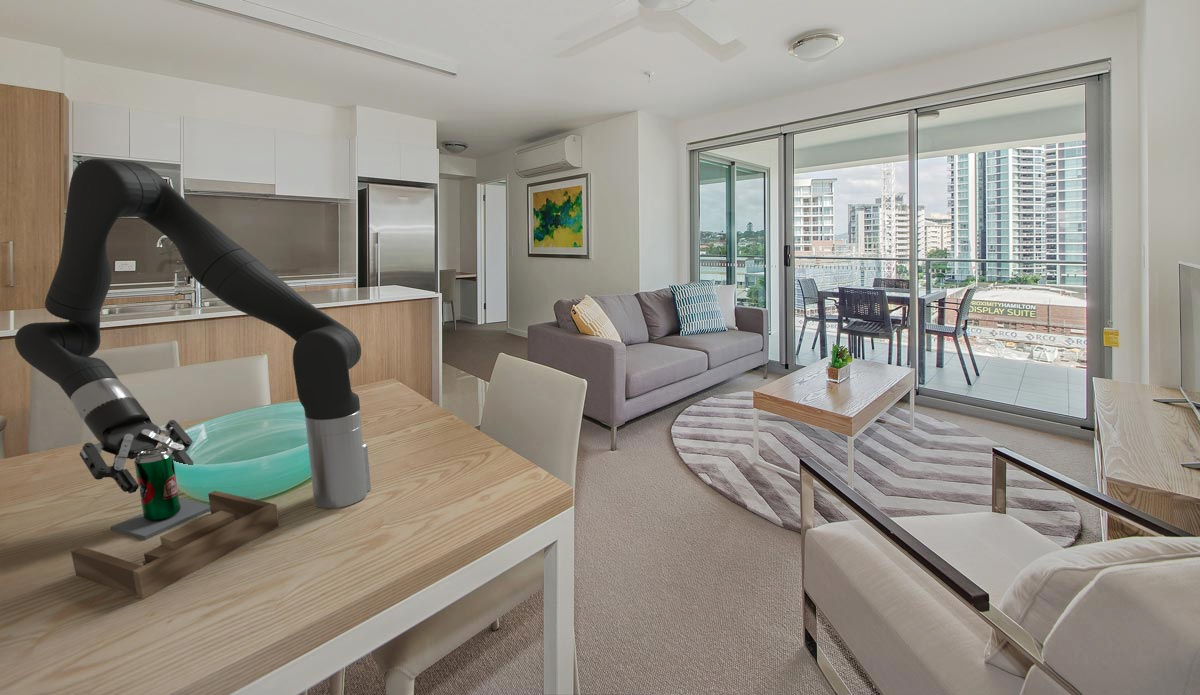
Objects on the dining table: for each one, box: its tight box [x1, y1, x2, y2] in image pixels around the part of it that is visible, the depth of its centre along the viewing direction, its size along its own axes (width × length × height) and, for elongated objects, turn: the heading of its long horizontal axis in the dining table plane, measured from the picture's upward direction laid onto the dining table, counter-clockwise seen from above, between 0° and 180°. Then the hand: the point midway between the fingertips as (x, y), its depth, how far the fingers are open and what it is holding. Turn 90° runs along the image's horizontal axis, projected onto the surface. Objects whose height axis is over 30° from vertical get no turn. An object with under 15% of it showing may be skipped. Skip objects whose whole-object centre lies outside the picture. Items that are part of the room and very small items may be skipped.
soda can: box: [133, 448, 181, 521], centre depth 91 cm, size 5×5×12 cm
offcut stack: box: [142, 510, 236, 566], centre depth 81 cm, size 12×5×4 cm, turn 160°
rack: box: [70, 490, 280, 600], centre depth 82 cm, size 20×15×4 cm
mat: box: [110, 497, 211, 540], centre depth 92 cm, size 11×9×1 cm
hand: (163, 479), depth 90 cm, fingers open, 8 cm apart
